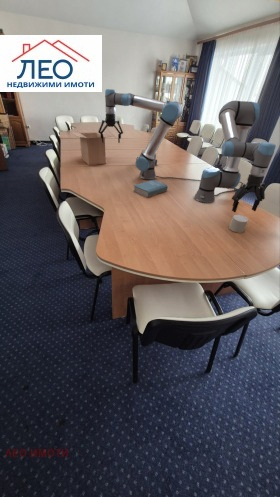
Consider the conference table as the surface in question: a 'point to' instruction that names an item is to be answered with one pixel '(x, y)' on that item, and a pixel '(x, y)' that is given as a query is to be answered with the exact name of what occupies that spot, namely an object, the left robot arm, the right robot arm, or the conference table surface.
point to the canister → (238, 223)
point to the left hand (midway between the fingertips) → (110, 142)
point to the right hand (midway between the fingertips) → (243, 210)
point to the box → (92, 146)
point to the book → (150, 188)
